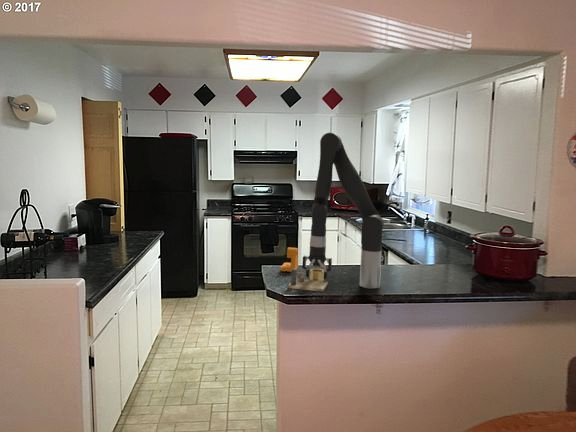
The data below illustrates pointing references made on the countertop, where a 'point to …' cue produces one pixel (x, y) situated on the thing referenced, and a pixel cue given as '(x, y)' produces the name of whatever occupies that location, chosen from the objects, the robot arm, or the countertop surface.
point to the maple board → (305, 282)
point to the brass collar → (317, 274)
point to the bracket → (293, 255)
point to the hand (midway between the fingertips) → (316, 278)
